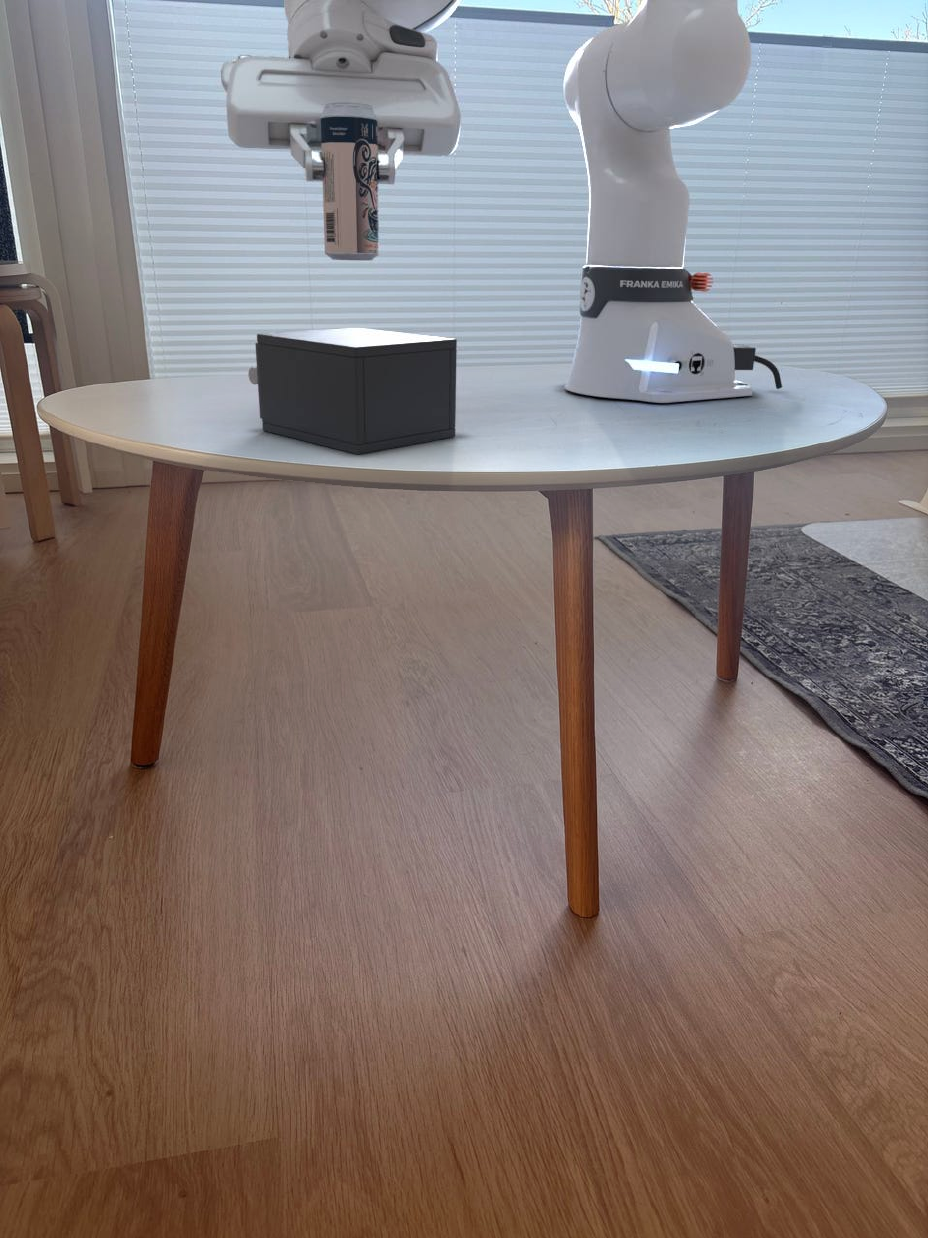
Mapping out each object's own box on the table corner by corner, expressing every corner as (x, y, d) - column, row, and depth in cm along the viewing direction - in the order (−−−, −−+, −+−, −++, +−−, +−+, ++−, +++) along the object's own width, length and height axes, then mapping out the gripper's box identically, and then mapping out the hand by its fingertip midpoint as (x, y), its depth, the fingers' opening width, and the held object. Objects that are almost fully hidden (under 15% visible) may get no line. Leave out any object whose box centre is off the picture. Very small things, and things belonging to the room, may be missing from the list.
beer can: (376, 260, 80) (374, 101, 75) (320, 259, 80) (315, 100, 75) (382, 259, 84) (380, 109, 80) (329, 258, 84) (325, 108, 80)
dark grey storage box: (262, 430, 86) (256, 333, 83) (359, 416, 94) (356, 327, 90) (357, 454, 77) (355, 347, 74) (455, 436, 85) (457, 338, 82)
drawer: (235, 412, 89) (230, 338, 87) (321, 401, 96) (319, 333, 94) (345, 438, 79) (343, 355, 76) (433, 424, 86) (433, 347, 83)
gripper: (217, 21, 79) (222, 139, 74) (452, 37, 83) (473, 150, 78) (222, 88, 85) (228, 202, 80) (443, 100, 89) (461, 209, 84)
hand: (351, 176), depth 79 cm, fingers closed on beer can, 5 cm apart
